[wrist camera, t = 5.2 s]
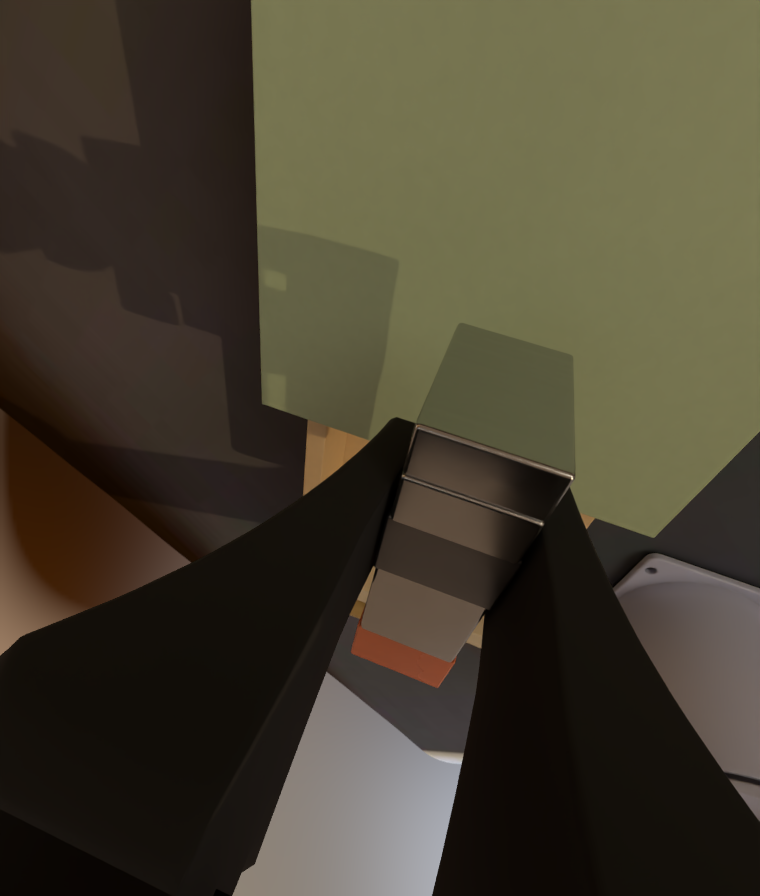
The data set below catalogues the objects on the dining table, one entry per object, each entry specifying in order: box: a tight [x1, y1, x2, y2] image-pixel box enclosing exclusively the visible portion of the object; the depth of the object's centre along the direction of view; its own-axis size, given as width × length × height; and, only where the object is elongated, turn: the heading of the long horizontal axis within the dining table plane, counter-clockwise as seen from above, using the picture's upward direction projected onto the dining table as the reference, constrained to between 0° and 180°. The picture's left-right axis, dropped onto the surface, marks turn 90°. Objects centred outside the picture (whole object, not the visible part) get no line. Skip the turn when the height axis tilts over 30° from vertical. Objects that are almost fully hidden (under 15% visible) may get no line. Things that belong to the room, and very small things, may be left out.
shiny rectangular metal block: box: [351, 323, 576, 687], centre depth 10 cm, size 8×2×3 cm, turn 171°
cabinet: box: [251, 0, 760, 538], centre depth 12 cm, size 16×14×6 cm
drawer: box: [303, 420, 595, 648], centre depth 22 cm, size 19×12×4 cm, turn 171°
